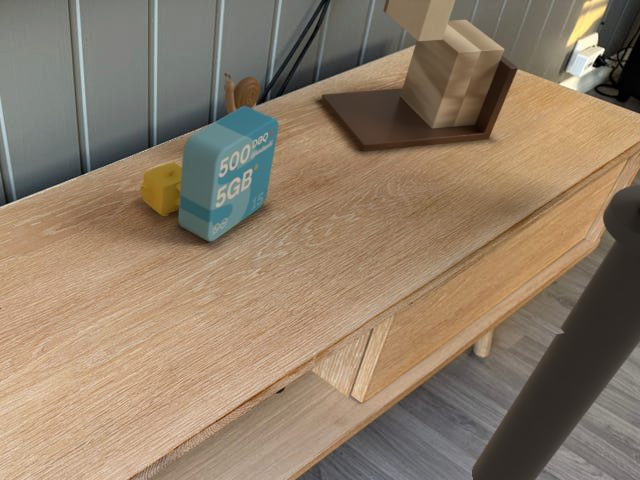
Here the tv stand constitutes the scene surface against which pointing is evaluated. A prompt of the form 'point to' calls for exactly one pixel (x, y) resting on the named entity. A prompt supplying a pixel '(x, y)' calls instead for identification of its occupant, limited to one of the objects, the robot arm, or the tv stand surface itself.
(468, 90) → the book rack
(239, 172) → the data package
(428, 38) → the cream book
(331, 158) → the tv stand surface
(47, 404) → the tv stand surface
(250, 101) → the snail figurine
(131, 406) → the tv stand surface
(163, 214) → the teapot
